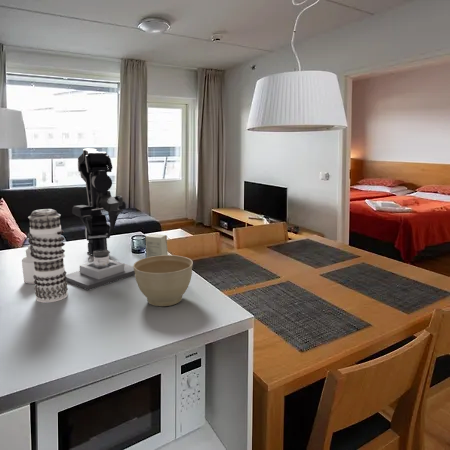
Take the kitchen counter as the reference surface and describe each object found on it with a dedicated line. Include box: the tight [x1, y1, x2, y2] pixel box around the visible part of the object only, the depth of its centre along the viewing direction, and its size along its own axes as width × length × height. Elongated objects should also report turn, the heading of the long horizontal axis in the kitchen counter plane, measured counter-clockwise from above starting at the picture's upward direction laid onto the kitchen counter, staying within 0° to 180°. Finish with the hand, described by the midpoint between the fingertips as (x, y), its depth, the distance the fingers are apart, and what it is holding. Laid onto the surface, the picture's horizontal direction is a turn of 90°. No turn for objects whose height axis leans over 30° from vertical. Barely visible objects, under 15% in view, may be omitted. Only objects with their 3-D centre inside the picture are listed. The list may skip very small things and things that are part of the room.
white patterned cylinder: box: [27, 208, 69, 304], centre depth 105 cm, size 9×9×25 cm
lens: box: [92, 249, 110, 270], centre depth 123 cm, size 5×5×7 cm
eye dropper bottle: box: [21, 244, 35, 285], centre depth 117 cm, size 4×6×12 cm
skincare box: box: [145, 233, 169, 258], centre depth 130 cm, size 6×4×12 cm
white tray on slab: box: [65, 259, 135, 291], centre depth 124 cm, size 20×14×4 cm
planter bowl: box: [132, 254, 194, 307], centre depth 105 cm, size 16×16×11 cm
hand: (101, 231), depth 136 cm, fingers open, 9 cm apart
